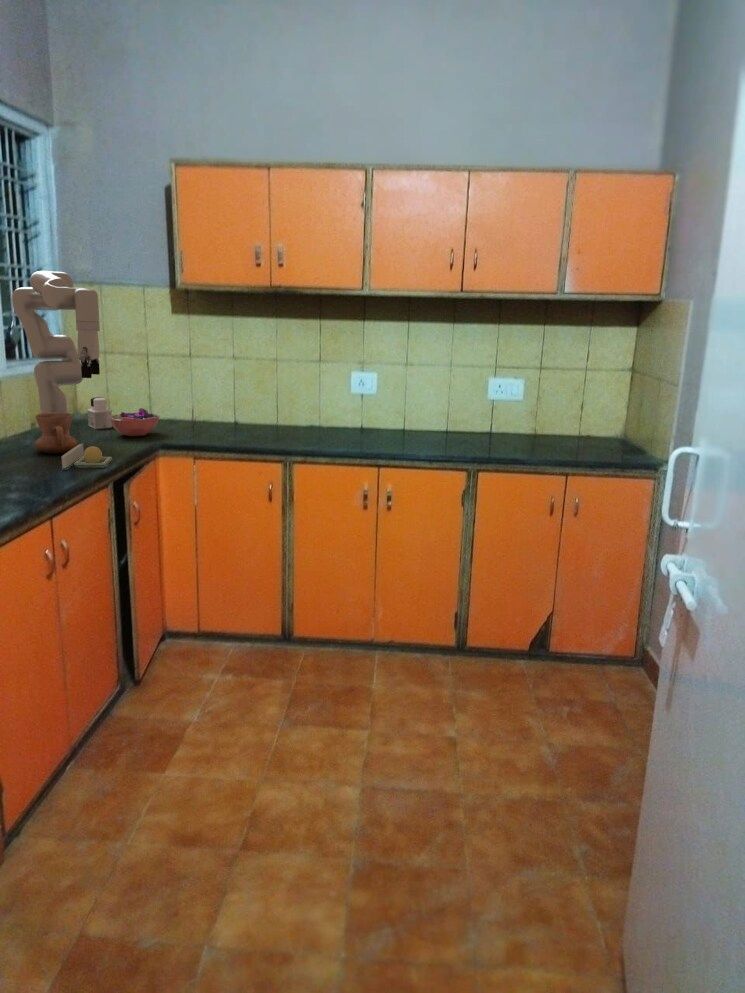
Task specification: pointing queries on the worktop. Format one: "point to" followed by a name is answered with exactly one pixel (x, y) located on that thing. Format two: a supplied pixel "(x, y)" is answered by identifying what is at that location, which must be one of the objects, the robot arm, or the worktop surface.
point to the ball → (92, 454)
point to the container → (99, 414)
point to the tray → (79, 462)
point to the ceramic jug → (55, 433)
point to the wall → (72, 455)
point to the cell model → (135, 423)
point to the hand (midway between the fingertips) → (91, 376)
